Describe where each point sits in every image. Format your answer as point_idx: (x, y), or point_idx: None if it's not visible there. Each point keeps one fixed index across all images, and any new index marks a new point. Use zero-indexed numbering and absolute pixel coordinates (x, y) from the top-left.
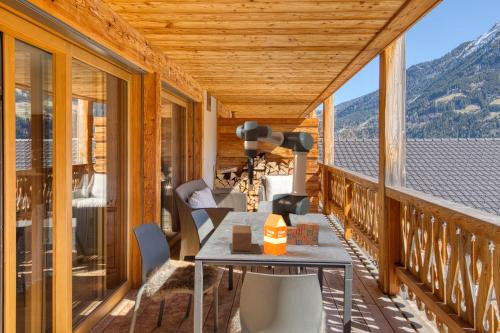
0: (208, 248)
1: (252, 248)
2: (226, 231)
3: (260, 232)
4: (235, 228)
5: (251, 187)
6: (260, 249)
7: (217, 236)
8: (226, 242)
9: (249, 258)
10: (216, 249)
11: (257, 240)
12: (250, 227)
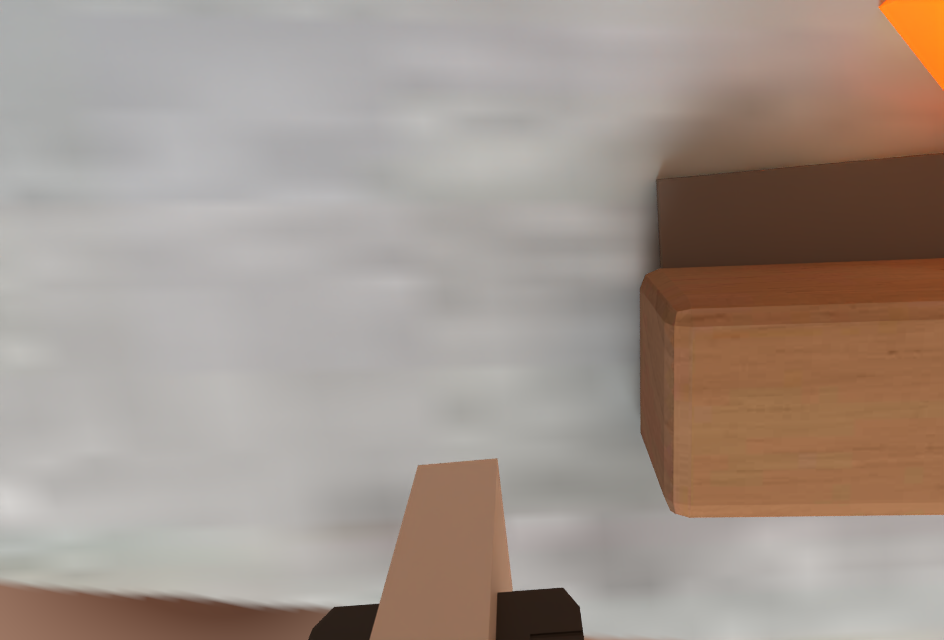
0: (819, 633)
1: (884, 241)
2: (68, 510)
3: (30, 150)
4: (901, 490)
5: (502, 548)
6: (929, 157)
7: (317, 583)
8: (567, 492)
9: None
10: (856, 567)
11: (442, 186)
12: (730, 301)
